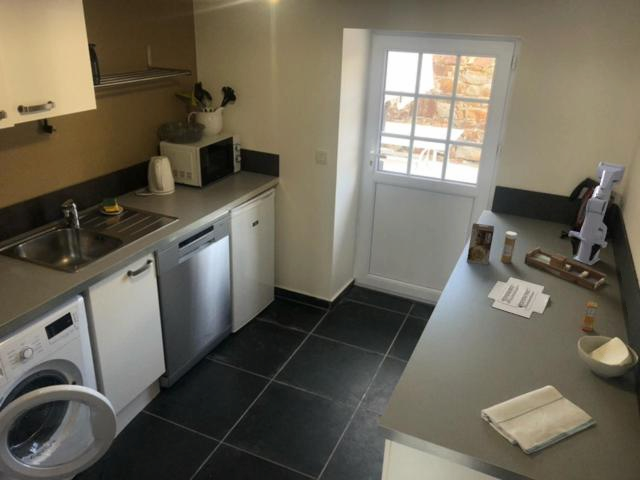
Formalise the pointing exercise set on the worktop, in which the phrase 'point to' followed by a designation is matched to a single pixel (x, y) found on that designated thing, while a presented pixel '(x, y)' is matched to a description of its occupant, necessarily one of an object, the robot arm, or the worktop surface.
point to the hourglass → (589, 316)
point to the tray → (519, 297)
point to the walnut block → (558, 260)
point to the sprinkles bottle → (508, 246)
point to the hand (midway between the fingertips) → (582, 257)
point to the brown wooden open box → (565, 269)
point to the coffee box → (480, 243)
